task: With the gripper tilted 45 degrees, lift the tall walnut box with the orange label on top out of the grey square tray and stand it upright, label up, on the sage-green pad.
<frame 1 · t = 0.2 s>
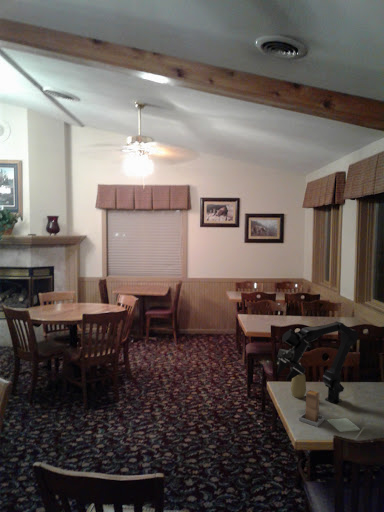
hand: (281, 377, 193), 15 cm above the table, tool tilted 35°, fingers open, 9 cm apart
walnut box: (311, 420, 179), resting on grey square tray
squeeze bottle: (297, 396, 206), on the table
sage pad: (343, 426, 175), on the table
grey square tray: (311, 421, 179), on the table
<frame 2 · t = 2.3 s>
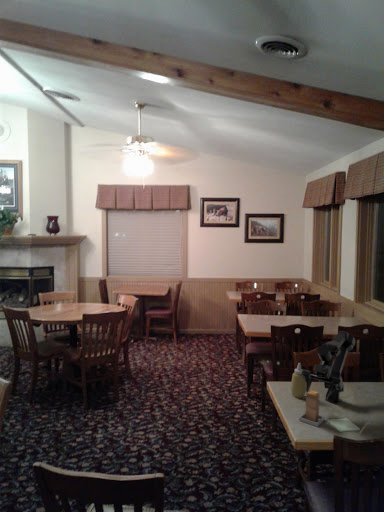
hand: (316, 395, 182), 11 cm above the table, tool tilted 45°, fingers open, 9 cm apart
nothing on the table moved.
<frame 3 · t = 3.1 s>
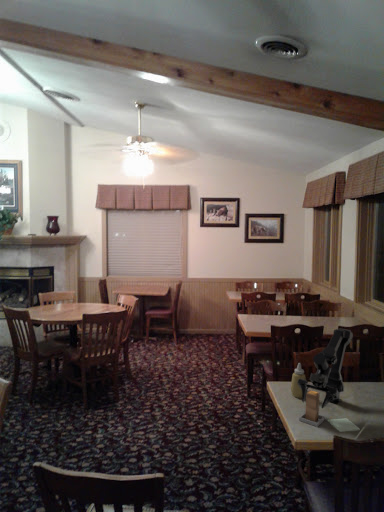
hand: (312, 404, 178), 8 cm above the table, tool tilted 45°, fingers open, 9 cm apart
nothing on the table moved.
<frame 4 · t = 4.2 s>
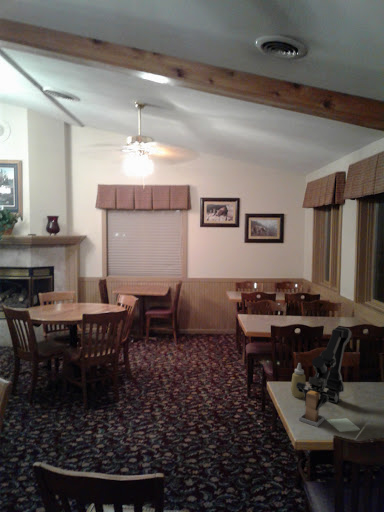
hand: (311, 408, 177), 7 cm above the table, tool tilted 45°, fingers closed on walnut box, 4 cm apart
walnut box: (311, 420, 179), resting on grey square tray, touching gripper
everything else where it was.
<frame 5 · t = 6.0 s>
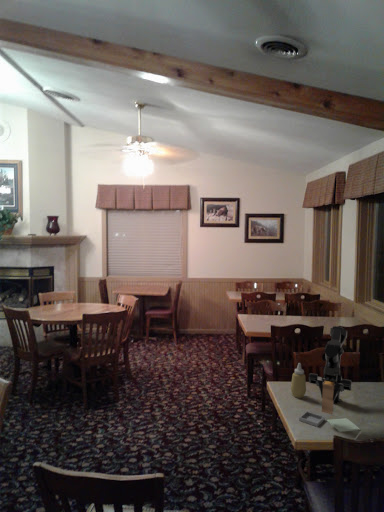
hand: (327, 399, 174), 12 cm above the table, tool tilted 45°, fingers closed on walnut box, 4 cm apart
walnut box: (327, 410, 176), point 6 cm above the table, touching gripper
everything else where it was.
when the fingers open (8 cm above the table, at t = 7.8 s): walnut box drops 1 cm, resting on sage pad.
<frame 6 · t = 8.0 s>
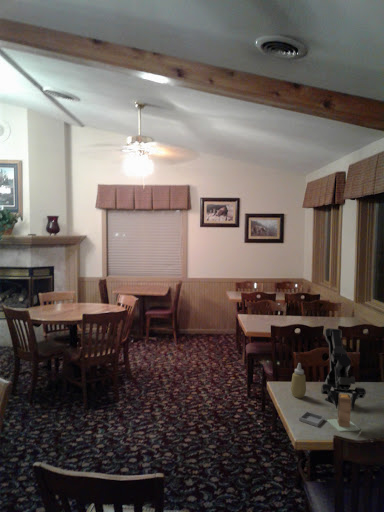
hand: (344, 409, 173), 9 cm above the table, tool tilted 45°, fingers open, 6 cm apart
walnut box: (343, 424, 175), point 1 cm above the table, touching sage pad
everything else where it was.
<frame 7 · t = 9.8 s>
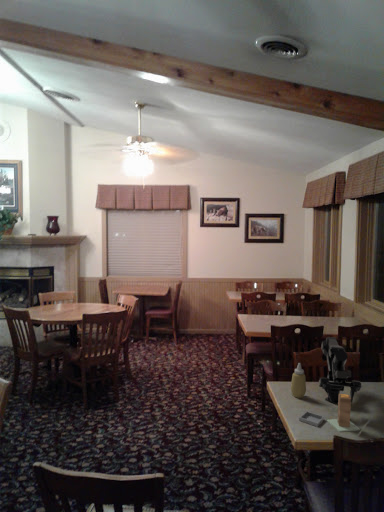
hand: (341, 401, 181), 8 cm above the table, tool tilted 45°, fingers open, 9 cm apart
nothing on the table moved.
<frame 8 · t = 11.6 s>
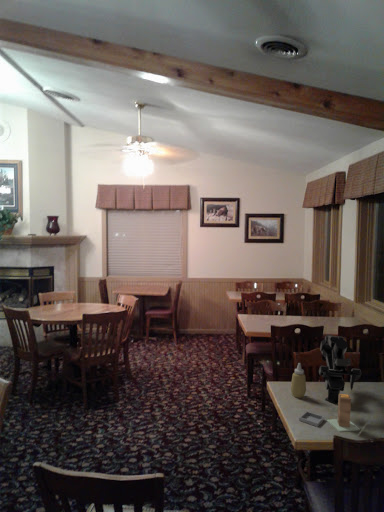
hand: (341, 389, 183), 14 cm above the table, tool tilted 45°, fingers open, 9 cm apart
nothing on the table moved.
at the end: walnut box inside the target area on the sage pad (0.0 cm from its centre), point 1.0 cm above the sage pad's base; walnut box tilted 0°; the gripper is holding nothing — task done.
